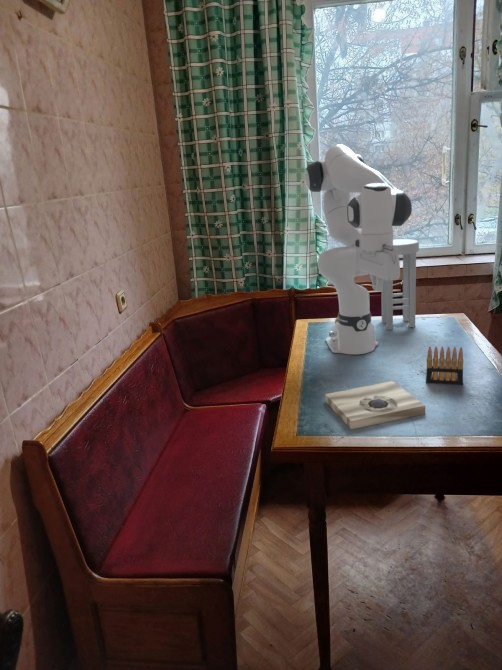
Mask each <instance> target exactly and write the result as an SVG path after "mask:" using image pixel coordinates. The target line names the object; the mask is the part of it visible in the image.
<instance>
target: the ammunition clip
mask: <svg viewBox="0 0 502 670" xmlns="http://www.w3.org/2000/svg"><path fill="white" fill-rule="evenodd" d="M452 349H453V350H452V352H451V349H450V346H447V349H446V352H445V349H444V346H441V348H440V351H439V350H438V347H437V346H435V347H434V351H433V352H432V347H431V346H429V347H428V349H427V356H426V373H425V374H426V375H425V376H426V377H425V383H426V384H434V385H437V384H438V385H454V386H455V385H458V386H459V385H460V386H462V385H464V350H463V347H462V346H460V347H459V350H458V352H457V348H456V346H454V347H453V348H452ZM445 353H446V355H445ZM451 353H452V354H451ZM457 354H458V355H457ZM457 356H458V358H457Z"/></svg>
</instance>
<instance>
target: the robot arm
mask: <svg viewBox="0 0 502 670" xmlns="http://www.w3.org/2000/svg"><path fill="white" fill-rule="evenodd" d="M304 181H305V184H306V186H307V189H308V190H309V191H310V192H313V193H321V192H324V194H323V198H322V199H323V200H322V201H323V210H324V215H325V219H326V220H325V221H326V223H327V229H328V232H329V234H330V238H332V239H333V241H336V243H340V244H342V245H343V246H339V247H333V248H330V249H327V250H324V251H322V252H321V253H320V255H319V256H318V260H317V269H318V272H319V274H320V275H322V277H323V278H325V279H326V280H328V281H329V282H330V283H331V284H332V285H333V287H334V289H335V290H336V293H337V299H338V310H339V311H338V312H337V313H338V314H337V317H338V320H337V321H338V322H337V323H336V324H335V323H334V325H332V326H331V329H330V330H329V331H328V337H326V338H325V342H326V344H327V346H328V347H329V349H330V351H331V353H335V354H343V355H344V354H345V355H364V354H368V353H371V352H373V351H374V350H375V348H376V347H378V346H379V341H377V340H376V333H375V325H374V324H373V323H372V312H371V311H370V306H371V305H370V292H369V291H368V289H367V288H366V287H364V286H362V285H360V284H357V283H355V277H359V276H360V277H361V276H367V275H369V278H370V281H371V283H372V285H371V286H372V289H373V290H374V291H377V292H381V291H382V290H383V283H384V280H388V281H391V280H393V281H396V280H399V279H400V277H401V264H400V255H398V254H397V253H396V251H395V249H394V247H393V240H394V229H393V227H401V226H402V225H403V226H404V224H405V223H406V222H407V221H408V220H409V218H410V217H411V215H412V212H413V211H412V210H413V205H412V201H411V199H410V197H409V195H408V194H406V193H405V192H404V191H403V190H400V189H398V188H397V187H396V186H394V184H393V183H391V182H390V180H389V179H388V178H387V177H385V176H384V175H383V174H382V172H380V171H378V170H376V169H375V168H372V167H370V166H368V165H366V163H365V160H364V158H363V156H362V155H360V154H357V153H355V152H354V151H353V150H352V149H351V148H349V147H348V146H346V145H344V144H335V145H332V146H331V147H329V148H328V150H327V151H326V153H325V156H324V159H322V160H317V161H313V162H311V163H308V165H307V166H306V168H305V172H304ZM353 193H359V195H357V196H354V197H352V196H351V194H353Z"/></svg>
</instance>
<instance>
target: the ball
mask: <svg viewBox="0 0 502 670" xmlns="http://www.w3.org/2000/svg"><path fill="white" fill-rule="evenodd" d="M371 407H373V408H385V407H386V404H385V402H384V401H383V400H381V399H375V400H374V401H373V402H372V404H371Z"/></svg>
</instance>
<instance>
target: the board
mask: <svg viewBox="0 0 502 670" xmlns="http://www.w3.org/2000/svg"><path fill="white" fill-rule="evenodd" d="M324 395H325V403H326V404H327V405H328V406H330V408H331V409H332V410H333V411H334V413H336V414H337V415H338V417H339V418H340V419H341V420H342V421H343V422H344V423H345V424H346V425H347V427H348V428H349V429H350V430H354V429H361V428H364V427H368V426H374V425H377V424H382V423H388V422H392V421H396V420H401V419H406V418H410V417H415V416H420V415H424V414H426V405H425V404H424V403H423V402H422V401H420V400H419V399H418V398H416V397H414V396H413V394H411V393H410V392H408V391H407V390H405V389H404V388H403V387H401V386H400V385H399V384H397V383H396V382H394V380H389V381H384V382H380V383H375V384H370V385H365V386H358V387H354V388H351V389H346V390H340V391H335V392H330V393H325V394H324ZM375 399H381V400H383V401H384V402H385V404H386V407H385V408H373V407H371V404H372V402H373V401H374V400H375Z"/></svg>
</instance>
